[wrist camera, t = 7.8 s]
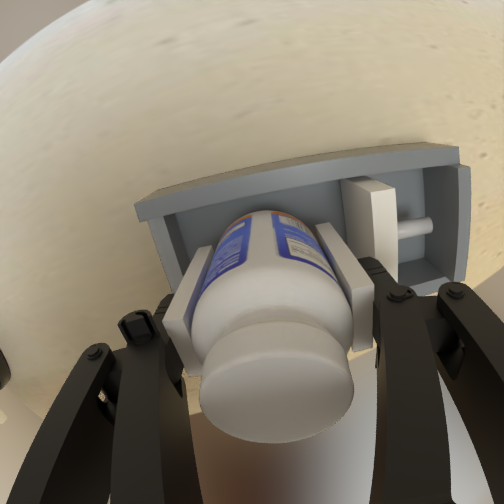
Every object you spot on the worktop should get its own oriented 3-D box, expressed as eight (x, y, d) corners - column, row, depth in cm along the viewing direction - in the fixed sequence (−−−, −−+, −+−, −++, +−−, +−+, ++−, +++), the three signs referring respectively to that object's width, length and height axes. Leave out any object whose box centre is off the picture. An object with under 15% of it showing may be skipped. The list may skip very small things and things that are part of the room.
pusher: (349, 273, 18) (375, 317, 13) (339, 175, 16) (370, 192, 11) (412, 258, 18) (449, 295, 13) (409, 165, 15) (456, 179, 11)
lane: (196, 309, 21) (182, 352, 16) (157, 190, 17) (126, 209, 13) (429, 262, 19) (462, 293, 14) (425, 142, 15) (469, 148, 11)
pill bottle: (228, 305, 17) (203, 457, 8) (207, 216, 15) (133, 341, 6) (321, 292, 16) (367, 440, 7) (313, 199, 14) (394, 309, 5)
